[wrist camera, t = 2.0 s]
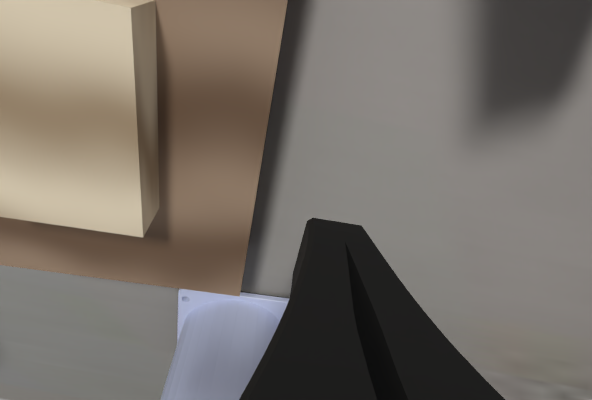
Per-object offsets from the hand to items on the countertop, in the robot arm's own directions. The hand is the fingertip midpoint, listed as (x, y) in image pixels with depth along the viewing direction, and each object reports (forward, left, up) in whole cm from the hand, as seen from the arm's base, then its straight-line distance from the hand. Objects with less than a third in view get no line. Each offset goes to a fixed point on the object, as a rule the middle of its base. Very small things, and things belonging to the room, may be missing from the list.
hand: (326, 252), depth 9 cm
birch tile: (0, +9, -6) cm, 11 cm away
